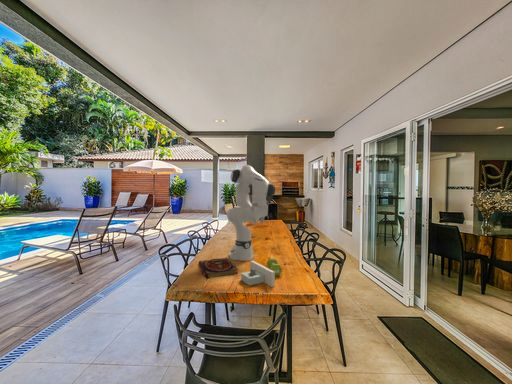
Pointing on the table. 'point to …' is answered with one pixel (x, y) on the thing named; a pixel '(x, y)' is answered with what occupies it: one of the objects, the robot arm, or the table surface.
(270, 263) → the dumbbell
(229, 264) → the book
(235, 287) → the table surface
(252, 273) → the dowel
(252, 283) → the sliding block
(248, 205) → the robot arm
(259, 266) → the wall
